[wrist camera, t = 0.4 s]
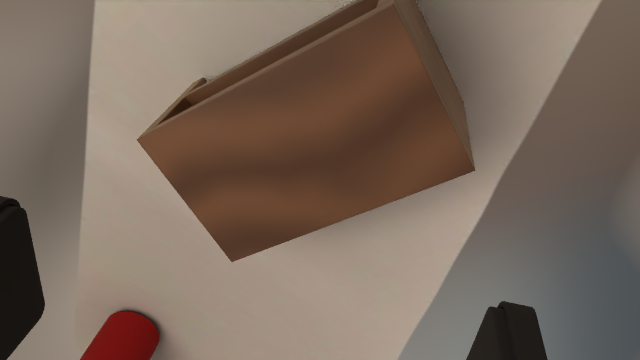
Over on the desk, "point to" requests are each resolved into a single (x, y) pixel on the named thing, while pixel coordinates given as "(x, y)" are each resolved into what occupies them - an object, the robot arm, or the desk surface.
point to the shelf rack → (315, 129)
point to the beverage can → (124, 338)
